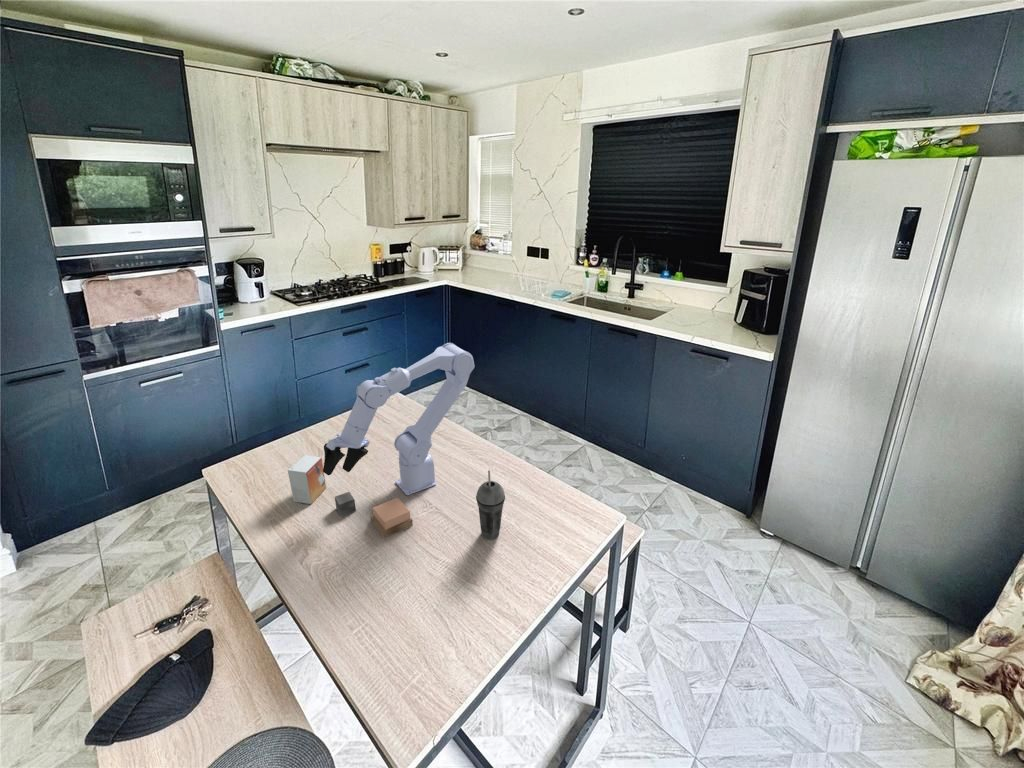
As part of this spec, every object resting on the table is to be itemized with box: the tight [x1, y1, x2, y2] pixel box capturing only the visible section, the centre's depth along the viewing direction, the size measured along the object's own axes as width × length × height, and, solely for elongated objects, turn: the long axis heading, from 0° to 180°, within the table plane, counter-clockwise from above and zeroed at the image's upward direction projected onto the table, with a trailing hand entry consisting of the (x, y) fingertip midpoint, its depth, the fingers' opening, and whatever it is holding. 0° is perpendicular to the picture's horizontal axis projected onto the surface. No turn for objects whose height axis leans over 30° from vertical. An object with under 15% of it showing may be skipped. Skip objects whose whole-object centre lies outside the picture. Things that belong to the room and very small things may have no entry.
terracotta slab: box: [372, 497, 411, 530], centre depth 129 cm, size 7×7×2 cm
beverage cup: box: [475, 470, 506, 541], centre depth 123 cm, size 7×7×20 cm
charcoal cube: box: [334, 491, 357, 517], centre depth 134 cm, size 4×4×4 cm
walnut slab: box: [370, 513, 413, 539], centre depth 130 cm, size 8×8×2 cm
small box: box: [287, 454, 327, 505], centre depth 138 cm, size 8×6×10 cm
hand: (336, 471), depth 129 cm, fingers open, 7 cm apart
